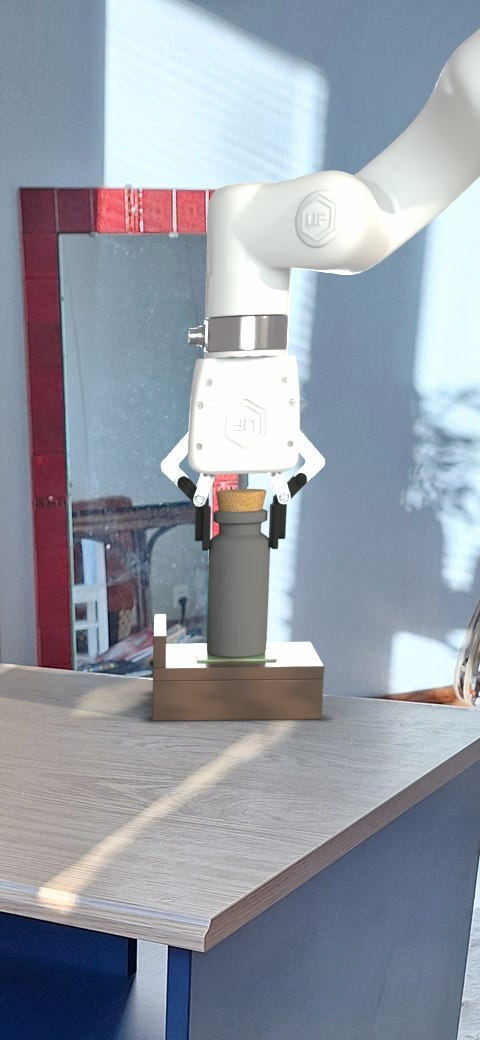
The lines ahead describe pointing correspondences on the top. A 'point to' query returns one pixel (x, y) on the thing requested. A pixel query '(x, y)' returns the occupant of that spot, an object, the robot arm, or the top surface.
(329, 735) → the top surface
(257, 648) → the bottle
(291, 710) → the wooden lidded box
